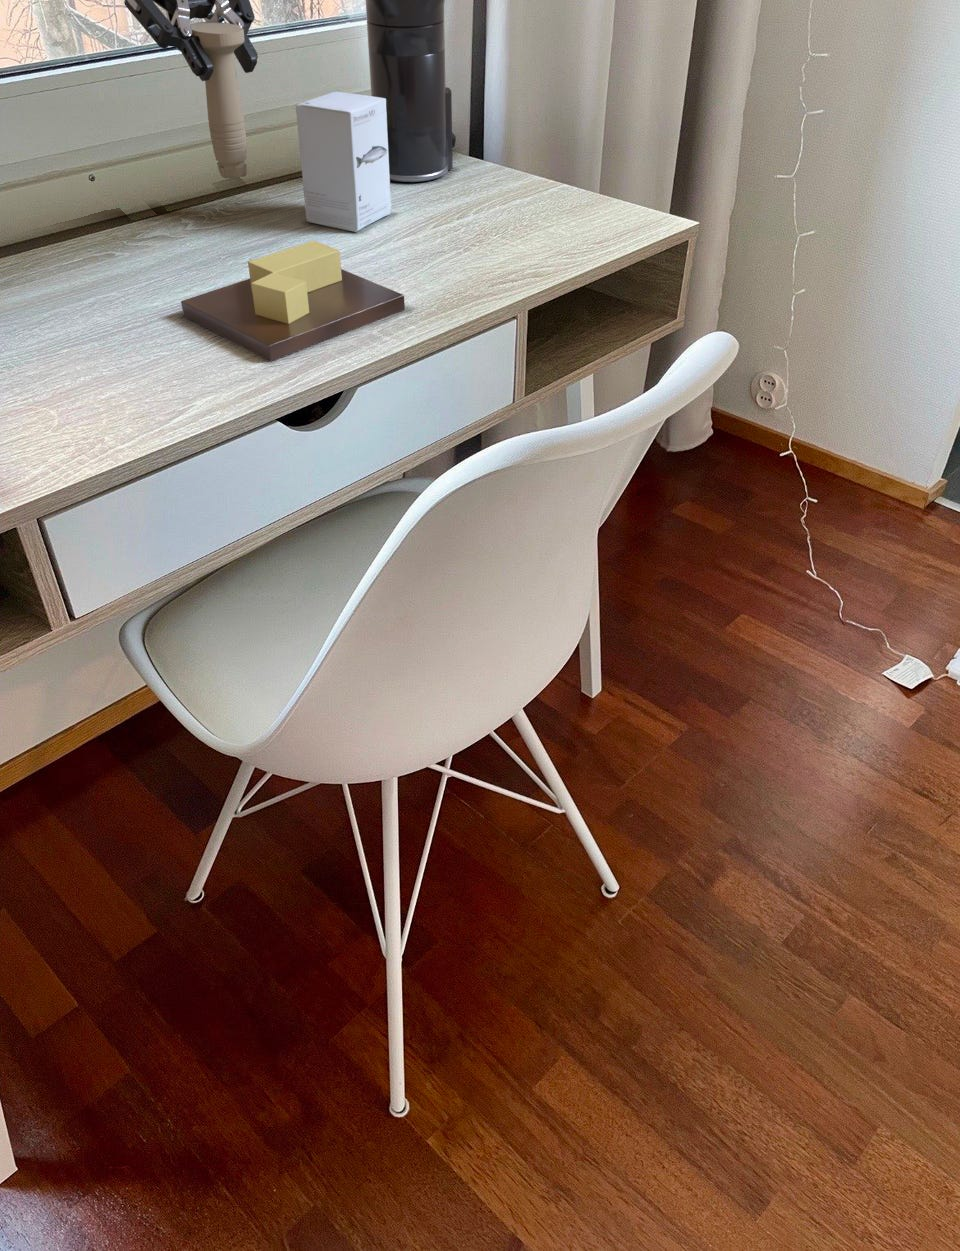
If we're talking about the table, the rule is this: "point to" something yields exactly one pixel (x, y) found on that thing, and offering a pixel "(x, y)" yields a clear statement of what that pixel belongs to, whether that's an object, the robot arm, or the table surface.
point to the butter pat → (280, 298)
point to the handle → (224, 96)
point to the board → (274, 339)
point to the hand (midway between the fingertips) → (230, 71)
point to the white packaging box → (344, 159)
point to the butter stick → (301, 265)
